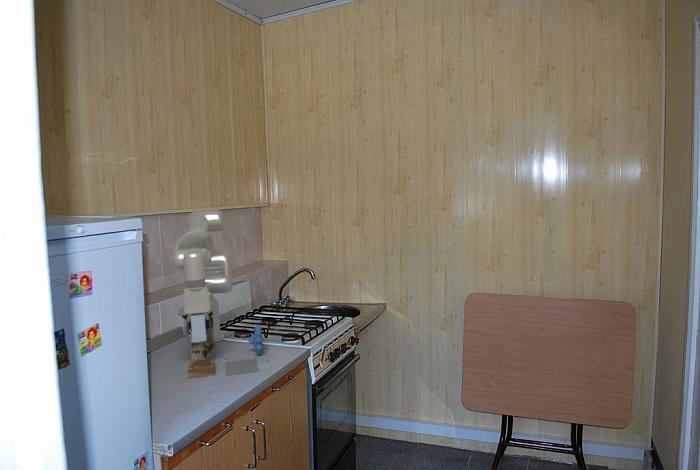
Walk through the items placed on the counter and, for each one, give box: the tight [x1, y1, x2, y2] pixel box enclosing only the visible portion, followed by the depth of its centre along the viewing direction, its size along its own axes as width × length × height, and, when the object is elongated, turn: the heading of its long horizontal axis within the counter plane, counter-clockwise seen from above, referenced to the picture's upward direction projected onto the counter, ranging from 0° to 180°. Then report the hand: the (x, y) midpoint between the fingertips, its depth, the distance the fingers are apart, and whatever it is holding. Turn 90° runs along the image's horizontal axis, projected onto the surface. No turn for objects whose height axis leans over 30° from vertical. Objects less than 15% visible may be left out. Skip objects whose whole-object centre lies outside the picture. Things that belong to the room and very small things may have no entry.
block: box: [191, 313, 207, 342], centre depth 184 cm, size 5×5×10 cm
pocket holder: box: [187, 358, 216, 380], centre depth 185 cm, size 10×10×3 cm
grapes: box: [248, 324, 265, 356], centre depth 204 cm, size 12×7×12 cm, turn 12°
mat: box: [225, 357, 259, 377], centre depth 189 cm, size 14×12×1 cm
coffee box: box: [189, 317, 216, 361], centre depth 203 cm, size 9×6×16 cm
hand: (199, 329), depth 184 cm, fingers closed on block, 5 cm apart
